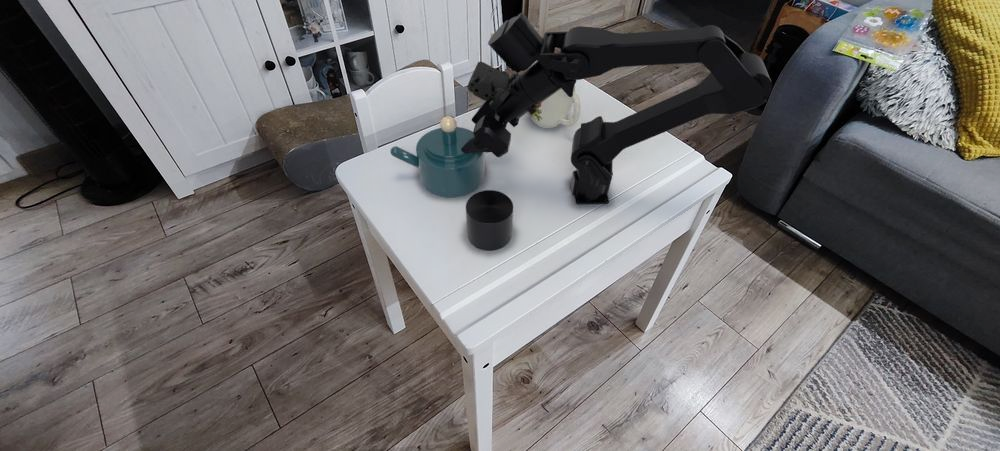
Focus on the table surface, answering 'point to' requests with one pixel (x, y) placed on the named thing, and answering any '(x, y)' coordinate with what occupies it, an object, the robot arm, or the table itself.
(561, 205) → the table surface
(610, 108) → the table surface
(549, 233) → the table surface
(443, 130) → the teapot lid
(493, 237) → the tea tin
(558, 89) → the robot arm
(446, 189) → the teapot
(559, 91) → the pitcher
